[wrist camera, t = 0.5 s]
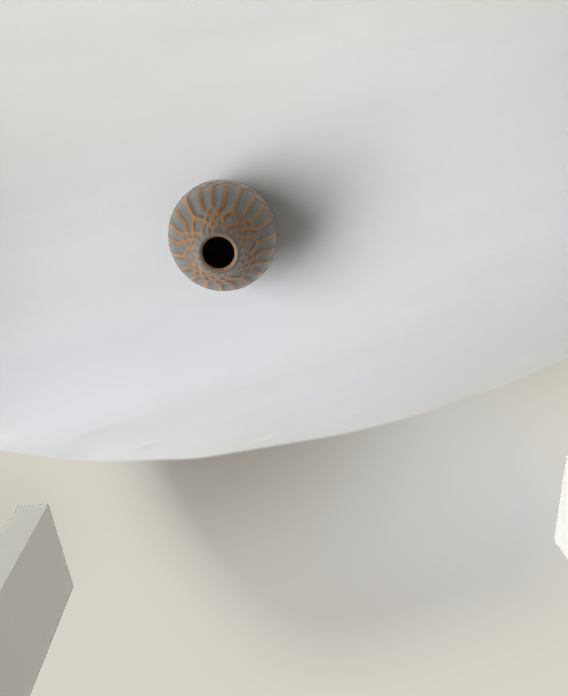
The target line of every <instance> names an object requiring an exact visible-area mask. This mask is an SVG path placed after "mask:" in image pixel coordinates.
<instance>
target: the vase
mask: <svg viewBox="0 0 568 696" xmlns="http://www.w3.org/2000/svg"><path fill="white" fill-rule="evenodd" d="M168 238H169V246H170V250H171V253H172V256H173V258H174V260H175V262H176V264H177V265H178V267H179V268H180V270H181V271H182V272H183V273H184V274H185V275H186V276H187V277H188V278H189V279H191V280H192V281H193V282H195V283H196V284H198V285H200V286H202V287H205V288H208V289H211V290H217V291H231V290H236V289H240V288H243V287H245V286H247V285H249V284H251V283H252V282H254V281H255V280H257V279H258V278H259V277H260V276H261V275H262V274H263V273H264V272H265V271H266V269H267V268H268V266H269V265H270V263H271V261H272V259H273V256H274V254H275V250H276V245H277V228H276V223H275V219H274V217H273V214H272V212H271V210H270V208H269V206H268V205H267V203H266V202H265V200H264V199H263V198H262V197H261V196H260V195H259V194H258V193H257V192H255V191H254V190H253V189H251V188H250V187H248V186H246V185H244V184H241V183H239V182H235V181H230V180H213V181H209V182H205V183H202V184H200V185H198V186H196V187H195V188H193V189H191V190H190V191H189V192H188V193H186V194H185V195H184V196H183V197H182V199H181V200H180V201H179V202H178V204H177V206H176V207H175V209H174V211H173V213H172V216H171V219H170V223H169V231H168Z"/></svg>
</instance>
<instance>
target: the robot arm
mask: <svg viewBox="0 0 568 696" xmlns="http://www.w3.org/2000/svg"><path fill="white" fill-rule="evenodd" d="M554 541H555V542H556V543H557V545H558V546H559V548H560V549H561V550H562V552H563V553H564V555H565V556H566V557H567V559H568V455H567V456H566V463H565V469H564V476H563V483H562V490H561V497H560V503H559V510H558V517H557V524H556V531H555V538H554ZM72 589H73V583H72V580H71V577H70V573H69V570H68V567H67V564H66V560H65V557H64V554H63V550H62V547H61V544H60V541H59V537H58V534H57V531H56V527H55V524H54V521H53V517H52V514H51V511H50V508H49V505H48V504H40V505H29V506H19V507H17V508H16V510H15V512H14V513H13V515H12V517H11V518H10V520H9V521H8V523H7V524H6V526H5V528H4V529H3V531H2V532H1V534H0V696H30V694H31V692H32V689H33V687H34V684H35V681H36V679H37V677H38V674H39V672H40V669H41V667H42V664H43V662H44V659H45V657H46V654H47V651H48V649H49V646H50V644H51V641H52V639H53V636H54V634H55V631H56V629H57V626H58V624H59V621H60V619H61V616H62V614H63V611H64V609H65V606H66V604H67V601H68V599H69V596H70V594H71V591H72Z"/></svg>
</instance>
